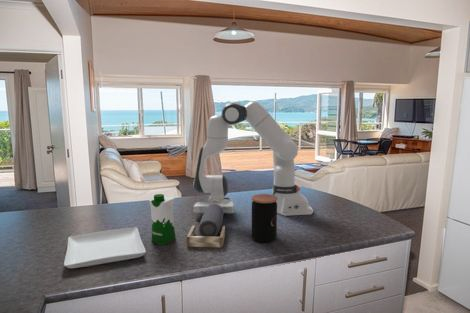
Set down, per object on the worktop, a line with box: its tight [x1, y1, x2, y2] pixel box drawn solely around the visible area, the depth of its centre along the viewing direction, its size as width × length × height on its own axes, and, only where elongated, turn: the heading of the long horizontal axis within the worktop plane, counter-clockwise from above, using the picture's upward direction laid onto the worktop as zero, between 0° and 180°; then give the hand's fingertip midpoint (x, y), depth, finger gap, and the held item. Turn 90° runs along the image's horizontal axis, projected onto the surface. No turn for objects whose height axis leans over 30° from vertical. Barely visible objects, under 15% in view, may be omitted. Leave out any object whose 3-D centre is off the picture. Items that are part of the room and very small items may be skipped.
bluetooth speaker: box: [198, 204, 224, 237], centre depth 145 cm, size 23×9×10 cm, turn 177°
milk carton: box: [148, 193, 176, 246], centre depth 135 cm, size 9×9×20 cm
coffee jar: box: [251, 193, 278, 244], centre depth 137 cm, size 11×11×18 cm
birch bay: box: [186, 225, 226, 248], centre depth 136 cm, size 14×13×4 cm
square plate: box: [63, 226, 147, 269], centre depth 126 cm, size 27×27×4 cm
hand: (212, 212), depth 156 cm, fingers closed, pressing on bluetooth speaker
